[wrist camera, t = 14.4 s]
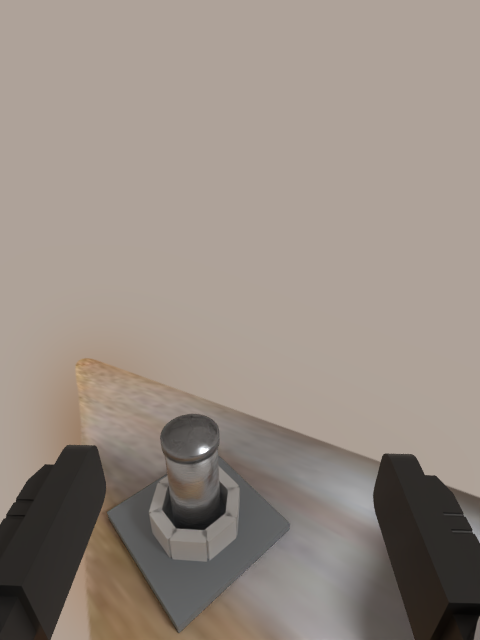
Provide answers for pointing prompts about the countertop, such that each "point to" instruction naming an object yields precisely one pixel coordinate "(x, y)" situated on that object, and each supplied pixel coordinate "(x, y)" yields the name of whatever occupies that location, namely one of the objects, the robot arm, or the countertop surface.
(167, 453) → the silver metal canister
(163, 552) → the collar
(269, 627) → the countertop surface
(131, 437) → the countertop surface
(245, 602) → the countertop surface
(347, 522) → the countertop surface
